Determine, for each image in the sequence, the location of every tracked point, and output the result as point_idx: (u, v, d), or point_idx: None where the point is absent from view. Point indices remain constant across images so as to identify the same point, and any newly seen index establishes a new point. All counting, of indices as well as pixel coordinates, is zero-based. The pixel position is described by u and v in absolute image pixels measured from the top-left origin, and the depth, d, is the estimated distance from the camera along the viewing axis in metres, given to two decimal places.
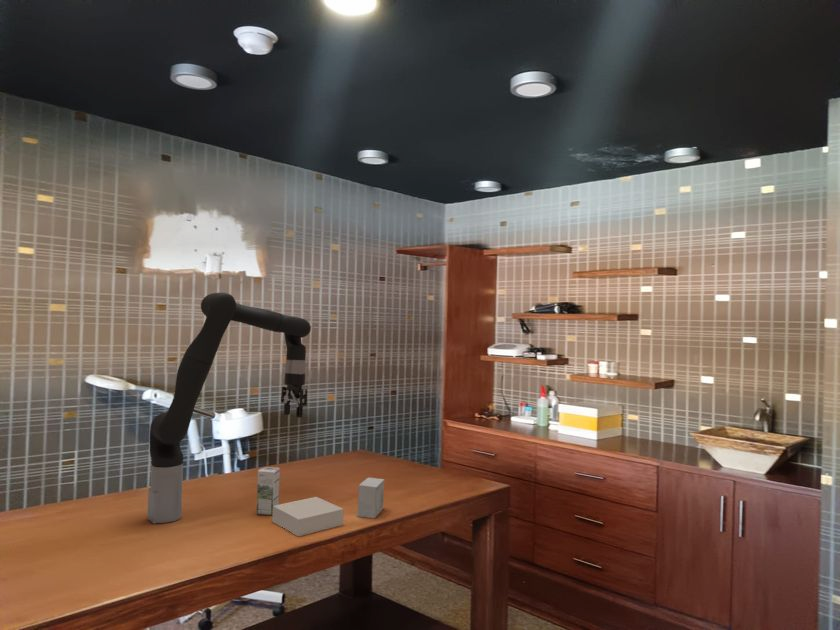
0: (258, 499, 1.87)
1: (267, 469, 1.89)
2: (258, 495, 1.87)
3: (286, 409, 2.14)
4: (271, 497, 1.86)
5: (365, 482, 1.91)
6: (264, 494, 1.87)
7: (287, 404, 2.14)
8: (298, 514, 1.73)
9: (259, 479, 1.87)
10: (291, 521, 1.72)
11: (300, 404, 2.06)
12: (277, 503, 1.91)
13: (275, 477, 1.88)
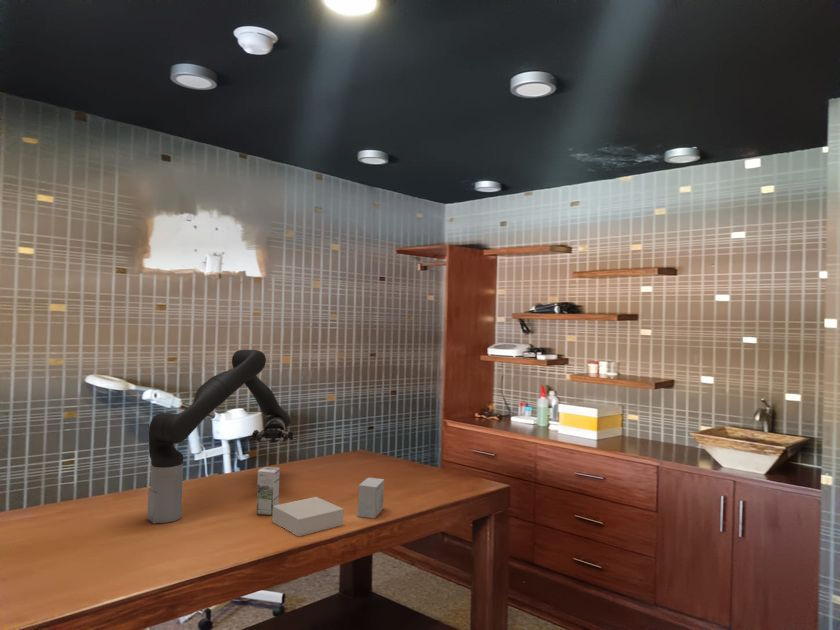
0: (258, 499, 1.87)
1: (267, 469, 1.89)
2: (258, 495, 1.87)
3: (260, 436, 2.02)
4: (271, 497, 1.86)
5: (365, 482, 1.91)
6: (264, 494, 1.87)
7: None
8: (298, 514, 1.73)
9: (259, 479, 1.87)
10: (291, 521, 1.72)
11: (292, 432, 2.07)
12: (277, 503, 1.91)
13: (275, 477, 1.88)
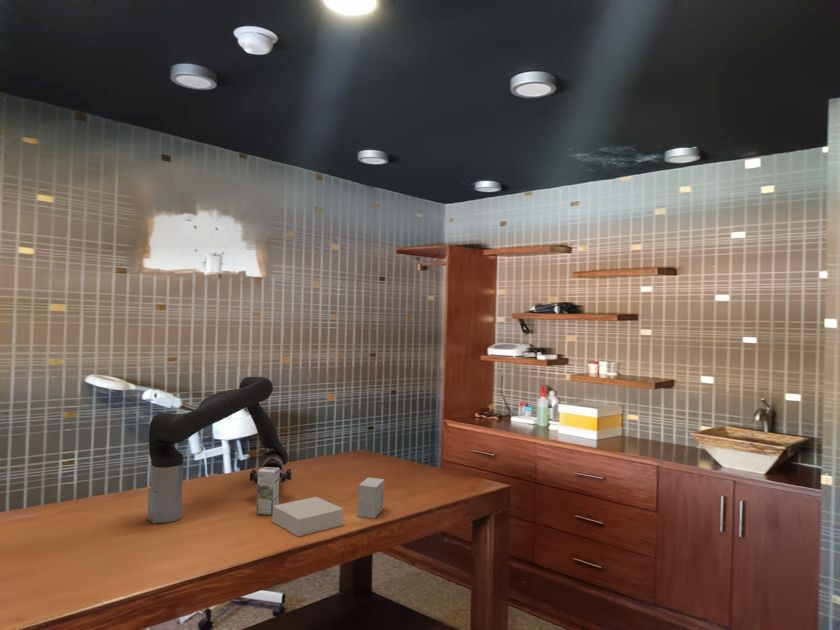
0: (258, 499, 1.87)
1: (267, 469, 1.89)
2: (258, 495, 1.87)
3: None
4: (271, 497, 1.86)
5: (365, 482, 1.91)
6: (264, 494, 1.87)
7: None
8: (298, 514, 1.73)
9: (259, 479, 1.87)
10: (291, 521, 1.72)
11: (290, 472, 2.04)
12: (277, 503, 1.91)
13: (275, 477, 1.88)
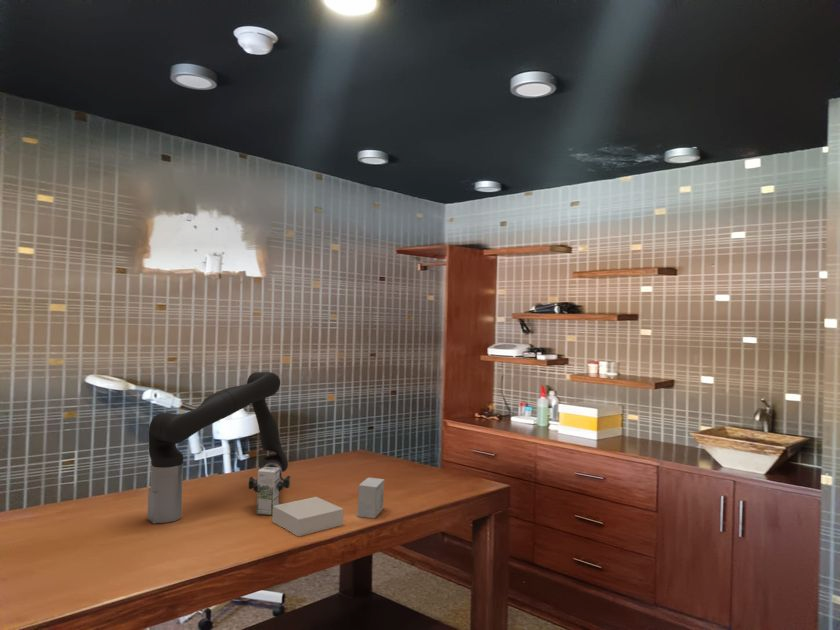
0: (258, 499, 1.87)
1: (267, 469, 1.89)
2: (258, 495, 1.87)
3: None
4: (271, 497, 1.86)
5: (365, 482, 1.91)
6: (264, 494, 1.87)
7: None
8: (298, 514, 1.73)
9: (259, 479, 1.87)
10: (291, 521, 1.72)
11: (287, 480, 1.93)
12: (277, 503, 1.91)
13: (275, 477, 1.88)
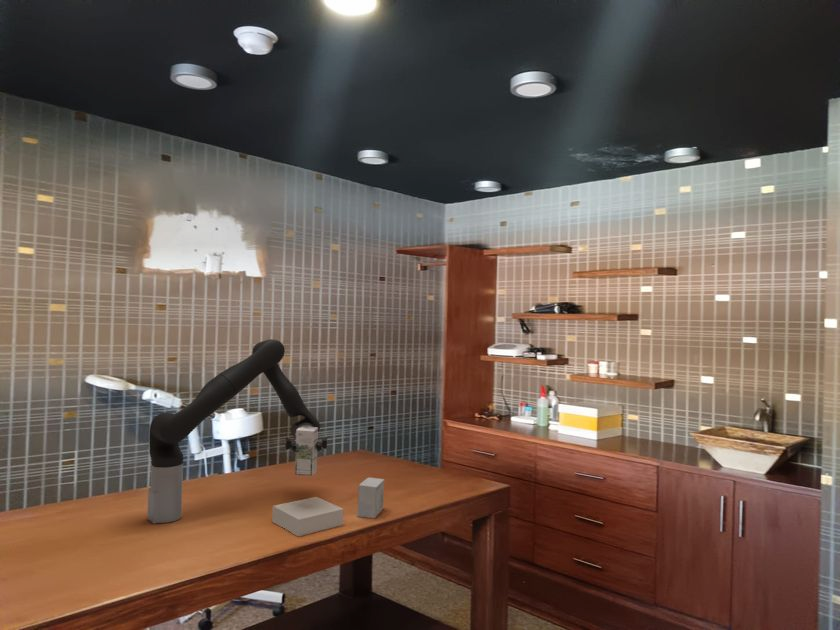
0: (297, 459, 1.79)
1: (305, 428, 1.81)
2: (297, 455, 1.79)
3: None
4: (310, 457, 1.79)
5: (365, 482, 1.91)
6: (303, 454, 1.79)
7: None
8: (298, 514, 1.73)
9: (298, 438, 1.79)
10: (291, 521, 1.72)
11: (325, 440, 1.86)
12: (315, 464, 1.83)
13: (314, 436, 1.80)
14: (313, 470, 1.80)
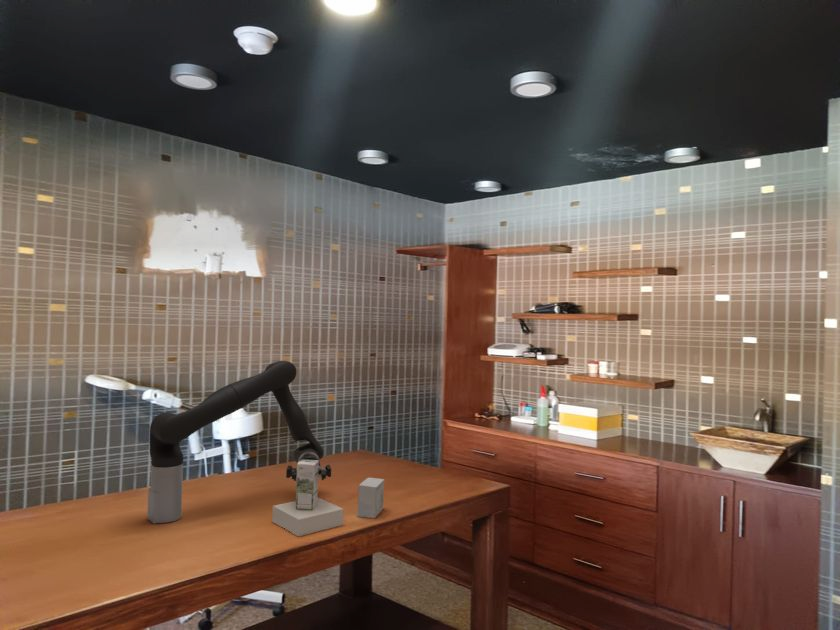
0: (297, 493, 1.78)
1: (306, 462, 1.80)
2: (298, 489, 1.78)
3: None
4: (311, 491, 1.77)
5: (365, 482, 1.91)
6: (304, 488, 1.77)
7: None
8: (298, 514, 1.73)
9: (298, 472, 1.78)
10: (291, 521, 1.72)
11: (330, 468, 1.85)
12: (316, 497, 1.82)
13: (315, 470, 1.79)
14: (314, 504, 1.79)
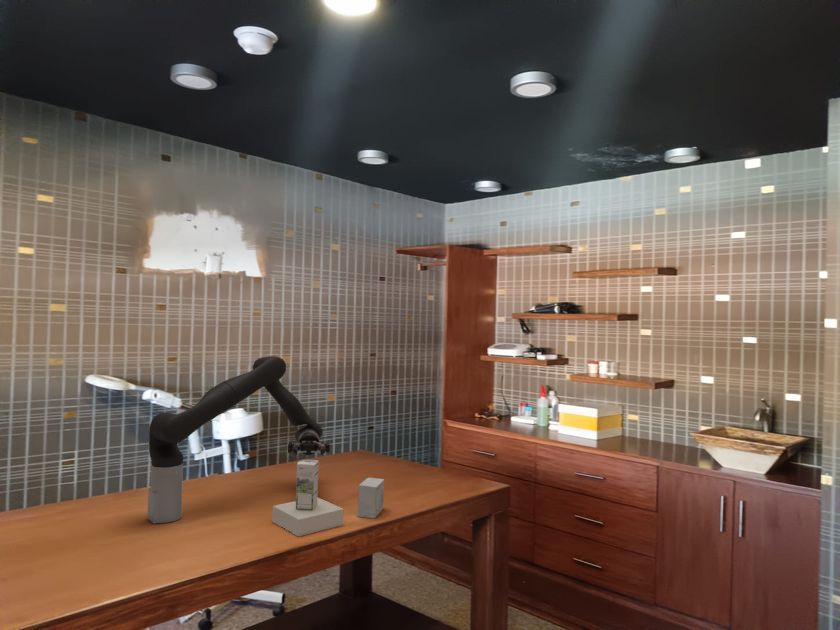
0: (297, 493, 1.78)
1: (306, 462, 1.80)
2: (298, 489, 1.78)
3: None
4: (311, 491, 1.77)
5: (365, 482, 1.91)
6: (304, 488, 1.77)
7: None
8: (298, 514, 1.73)
9: (298, 472, 1.78)
10: (291, 521, 1.72)
11: (329, 445, 1.97)
12: (316, 497, 1.82)
13: (315, 470, 1.79)
14: (314, 504, 1.79)
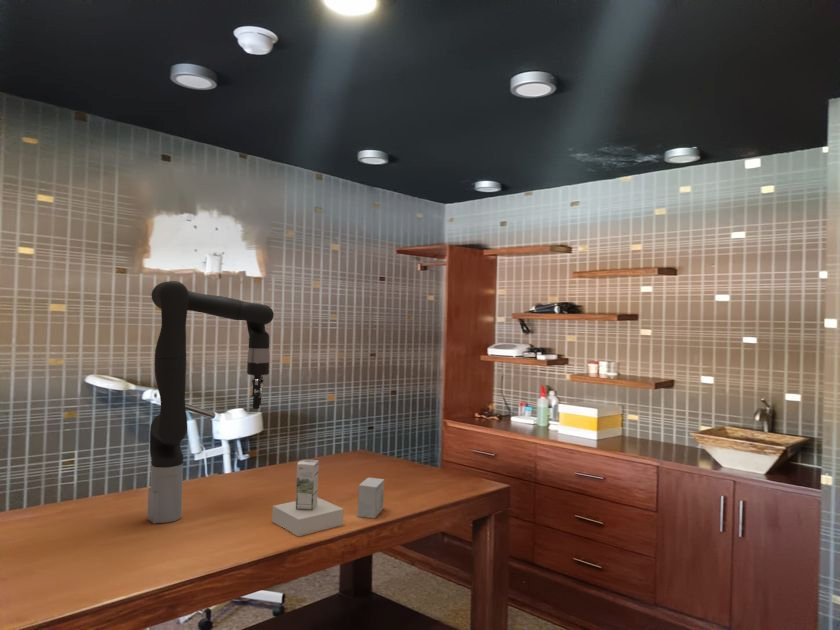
0: (297, 493, 1.78)
1: (306, 462, 1.80)
2: (298, 489, 1.78)
3: None
4: (311, 491, 1.77)
5: (365, 482, 1.91)
6: (304, 488, 1.77)
7: None
8: (298, 514, 1.73)
9: (298, 472, 1.78)
10: (291, 521, 1.72)
11: (252, 395, 1.95)
12: (316, 497, 1.82)
13: (315, 470, 1.79)
14: (314, 504, 1.79)
